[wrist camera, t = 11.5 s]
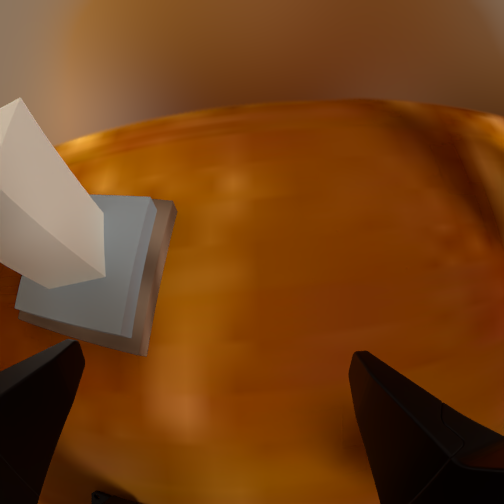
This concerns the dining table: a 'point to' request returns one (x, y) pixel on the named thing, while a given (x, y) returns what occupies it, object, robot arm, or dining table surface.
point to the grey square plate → (145, 297)
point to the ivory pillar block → (44, 208)
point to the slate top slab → (116, 269)
